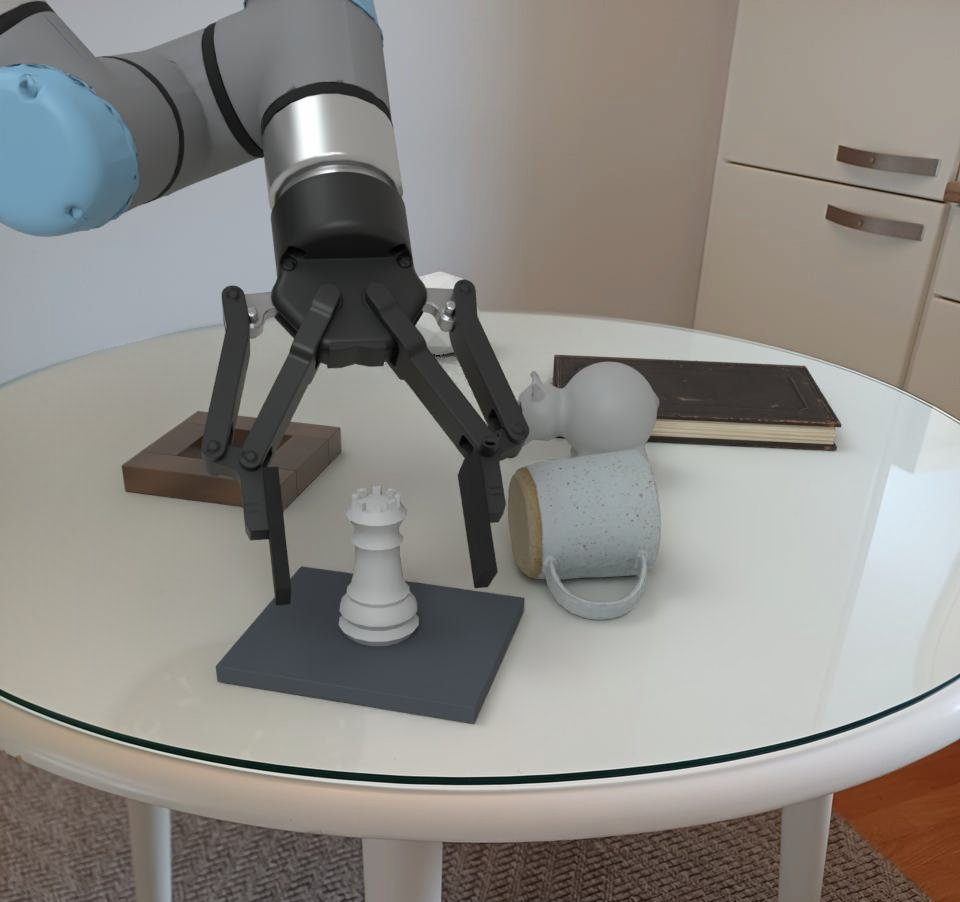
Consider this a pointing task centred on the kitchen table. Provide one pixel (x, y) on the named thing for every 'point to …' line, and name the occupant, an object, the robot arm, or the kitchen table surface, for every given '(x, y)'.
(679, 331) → the kitchen table surface
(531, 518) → the ceramic mug
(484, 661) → the mat
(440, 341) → the geometric ball
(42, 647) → the kitchen table surface
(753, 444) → the hardcover book
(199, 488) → the stand
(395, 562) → the rook chess piece
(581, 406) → the chubby cartoon animal
